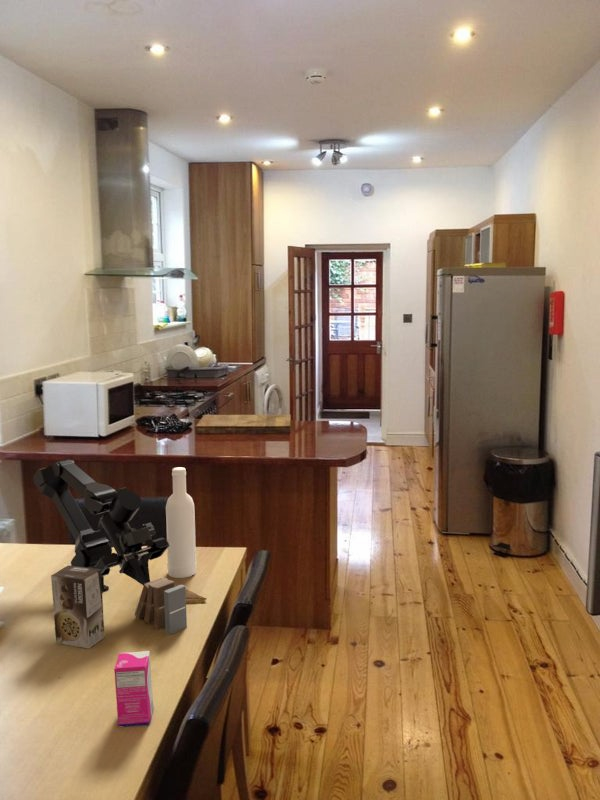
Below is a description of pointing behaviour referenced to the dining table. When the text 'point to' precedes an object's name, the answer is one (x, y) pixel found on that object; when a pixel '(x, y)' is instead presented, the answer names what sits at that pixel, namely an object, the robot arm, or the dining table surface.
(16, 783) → the dining table surface
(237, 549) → the dining table surface
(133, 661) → the supplement box
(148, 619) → the domino
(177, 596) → the domino
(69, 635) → the coffee box
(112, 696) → the dining table surface
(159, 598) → the domino
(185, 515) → the bottle
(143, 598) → the domino
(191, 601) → the shard
